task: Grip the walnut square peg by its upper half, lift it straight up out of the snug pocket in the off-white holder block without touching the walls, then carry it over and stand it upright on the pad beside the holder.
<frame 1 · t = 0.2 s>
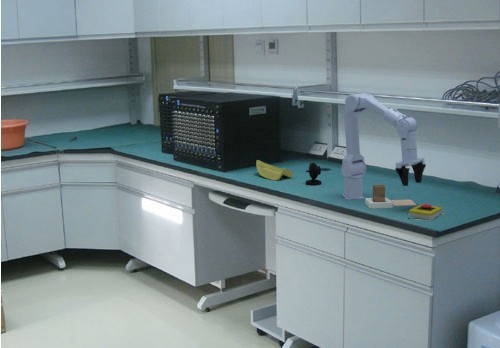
hand: (412, 184, 264), 10 cm above the worktop, tool pointing down, fingers open, 7 cm apart
emergency button: (424, 217, 258), on the worktop
pocket block: (378, 206, 273), on the worktop
peg: (378, 205, 273), touching pocket block
pad: (402, 203, 276), on the worktop
webcam: (313, 184, 316), on the worktop
plastic component: (274, 177, 334), on the worktop
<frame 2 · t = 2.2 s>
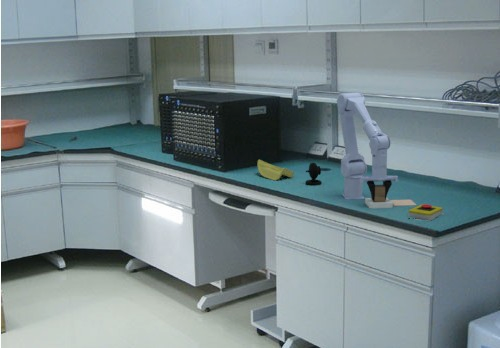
hand: (378, 199, 272), 3 cm above the worktop, tool pointing down, fingers closed on peg, 4 cm apart
peg: (378, 205, 273), touching gripper, pocket block
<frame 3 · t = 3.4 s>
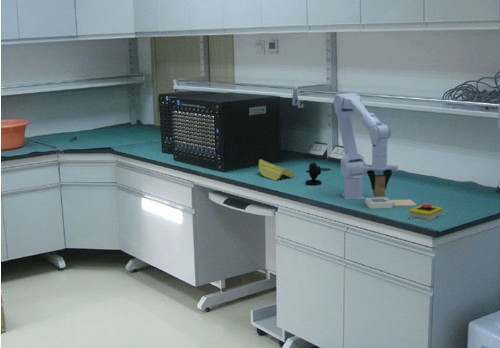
hand: (378, 189, 271), 7 cm above the worktop, tool pointing down, fingers closed on peg, 4 cm apart
peg: (378, 195, 272), point 5 cm above the worktop, touching gripper
when the fingers open (4 cm above the worktop, at t = 6.5 s): peg drops 1 cm, resting on pad.
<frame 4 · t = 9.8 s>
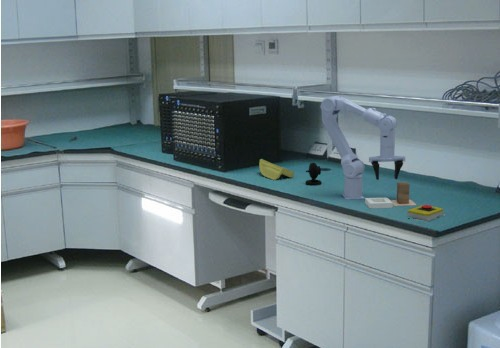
hand: (386, 179, 279), 9 cm above the worktop, tool pointing down, fingers open, 7 cm apart
peg: (402, 202, 276), point 1 cm above the worktop, touching pad
at the end: peg 0.1 cm off-centre on the pad, point 0.6 cm above the pad's base; peg tilted 0°; the gripper is holding nothing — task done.
